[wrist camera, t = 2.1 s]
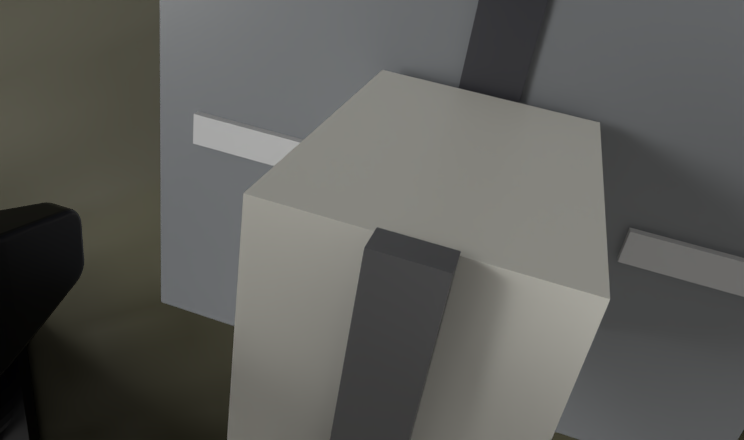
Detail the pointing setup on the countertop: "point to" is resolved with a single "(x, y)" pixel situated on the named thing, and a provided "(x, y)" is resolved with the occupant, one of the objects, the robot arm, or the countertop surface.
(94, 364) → the countertop surface
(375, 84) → the fader cap
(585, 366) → the slider track base
